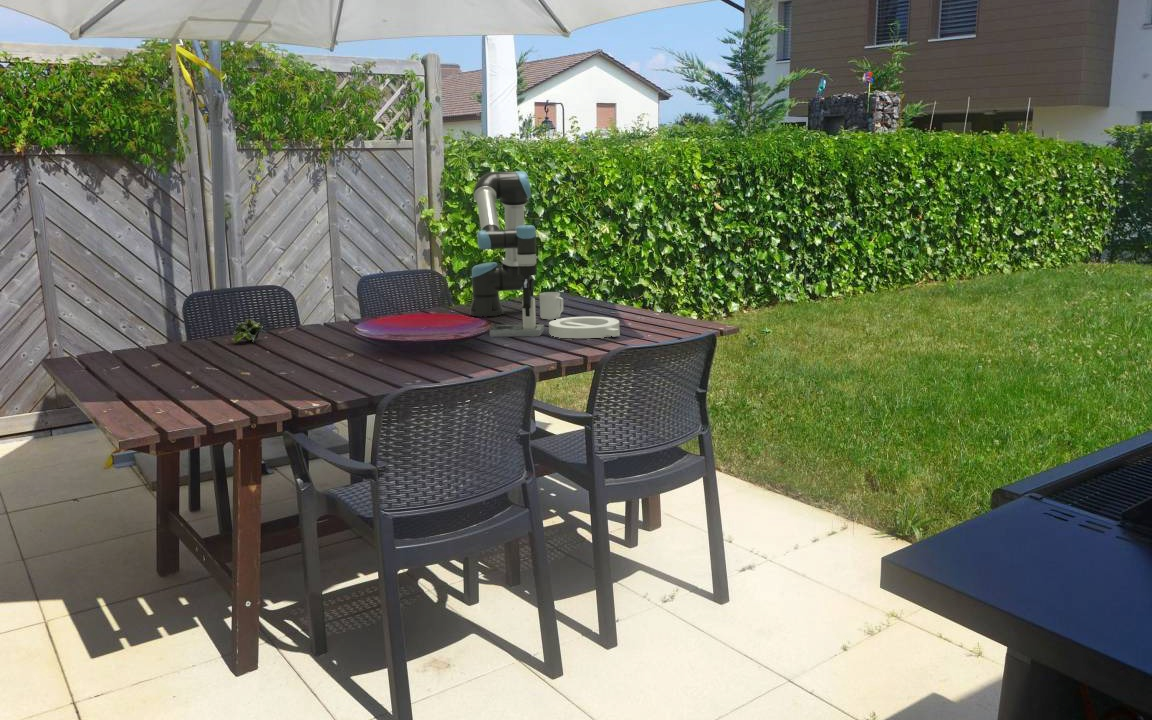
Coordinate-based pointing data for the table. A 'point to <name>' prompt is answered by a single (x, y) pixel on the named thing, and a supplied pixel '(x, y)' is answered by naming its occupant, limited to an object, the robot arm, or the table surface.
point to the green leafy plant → (248, 330)
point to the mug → (550, 305)
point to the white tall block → (533, 325)
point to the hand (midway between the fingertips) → (529, 323)
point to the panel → (515, 331)
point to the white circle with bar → (584, 327)
